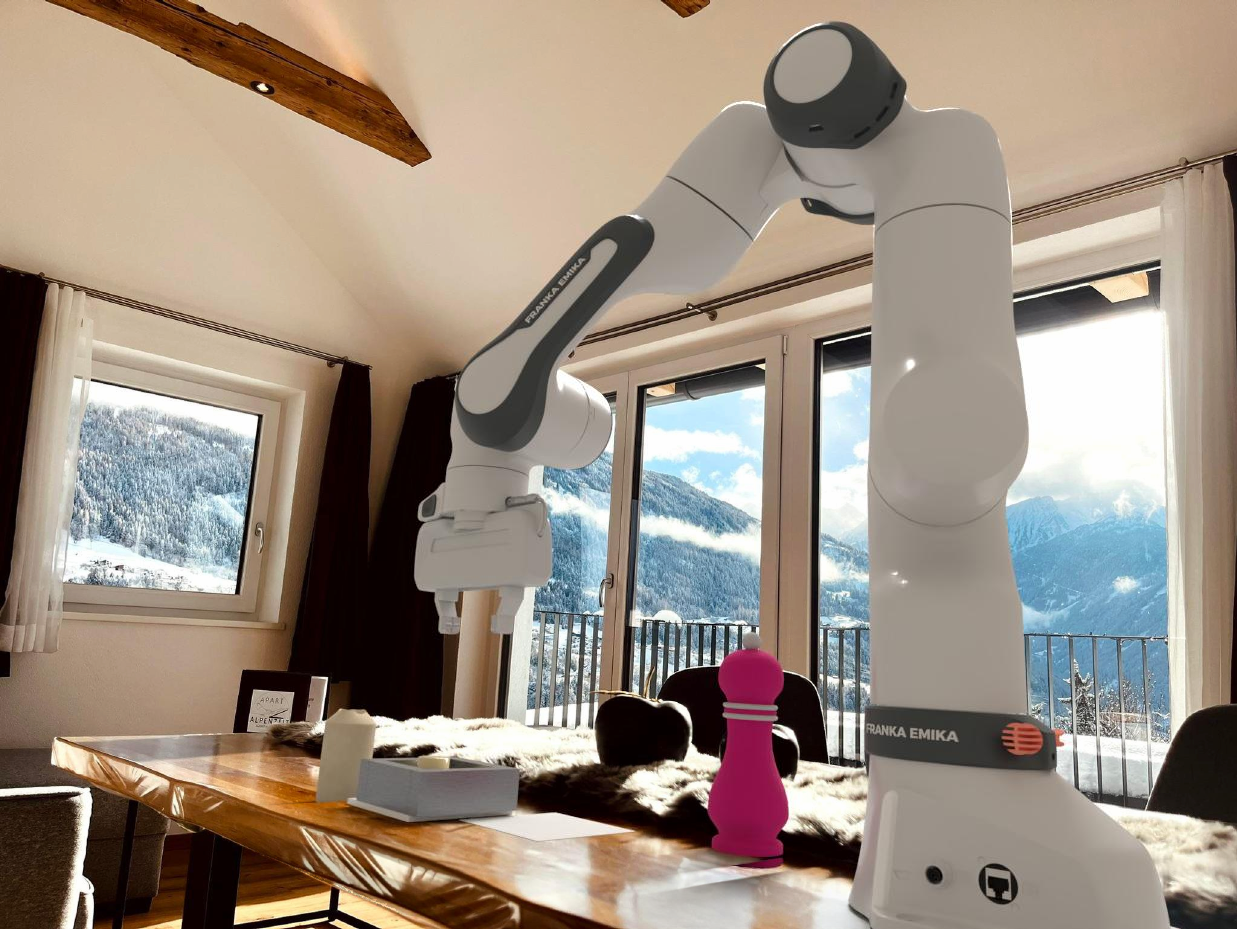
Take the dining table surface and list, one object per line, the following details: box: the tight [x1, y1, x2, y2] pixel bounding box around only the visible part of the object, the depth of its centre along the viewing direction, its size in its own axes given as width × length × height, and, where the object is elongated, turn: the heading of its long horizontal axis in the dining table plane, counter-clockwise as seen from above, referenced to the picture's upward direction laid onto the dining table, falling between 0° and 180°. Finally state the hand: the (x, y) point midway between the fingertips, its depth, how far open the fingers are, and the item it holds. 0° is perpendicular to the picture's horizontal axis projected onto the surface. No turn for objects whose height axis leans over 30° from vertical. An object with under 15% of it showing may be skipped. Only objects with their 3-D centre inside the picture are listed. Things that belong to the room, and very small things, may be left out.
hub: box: [346, 755, 513, 823], centre depth 92 cm, size 12×12×6 cm
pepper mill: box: [706, 631, 790, 870], centre depth 81 cm, size 7×7×20 cm
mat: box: [459, 812, 637, 843], centre depth 85 cm, size 12×12×1 cm
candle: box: [315, 708, 377, 803], centre depth 99 cm, size 6×6×10 cm
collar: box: [356, 756, 521, 817], centre depth 91 cm, size 12×12×4 cm
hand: (474, 633), depth 92 cm, fingers open, 8 cm apart
